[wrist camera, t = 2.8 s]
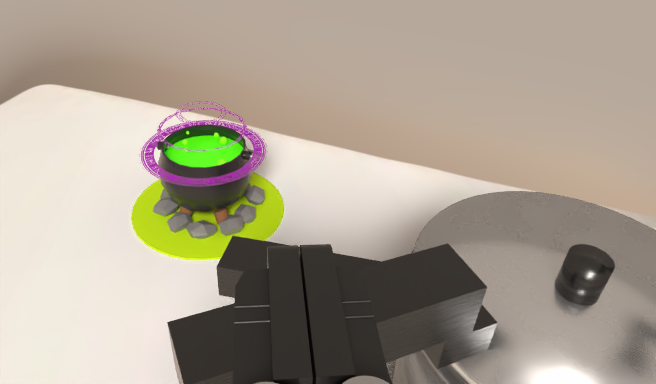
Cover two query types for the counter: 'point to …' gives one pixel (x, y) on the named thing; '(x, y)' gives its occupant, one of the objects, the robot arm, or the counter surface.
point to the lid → (496, 297)
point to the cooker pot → (244, 253)
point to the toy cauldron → (205, 191)
